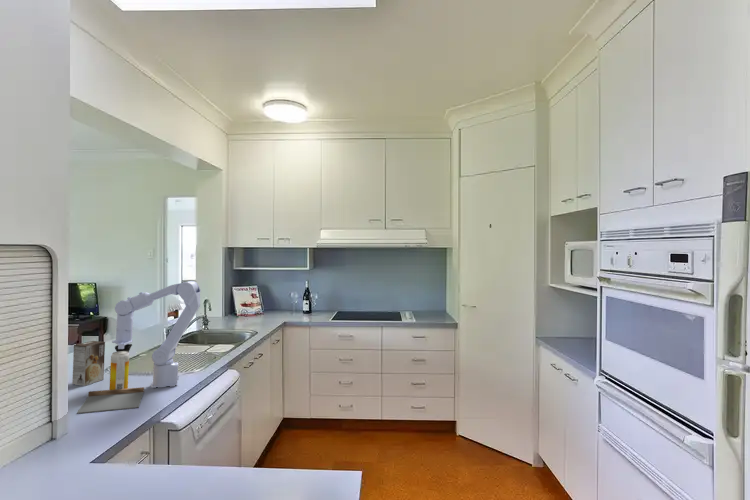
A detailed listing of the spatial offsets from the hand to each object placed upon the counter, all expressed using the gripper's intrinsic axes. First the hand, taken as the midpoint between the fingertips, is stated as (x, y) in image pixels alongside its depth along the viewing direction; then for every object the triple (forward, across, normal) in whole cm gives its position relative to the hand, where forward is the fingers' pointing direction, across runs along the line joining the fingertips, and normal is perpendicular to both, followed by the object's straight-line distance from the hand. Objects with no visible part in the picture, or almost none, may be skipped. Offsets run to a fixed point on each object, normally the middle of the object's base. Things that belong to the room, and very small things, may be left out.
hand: (122, 363), depth 168 cm
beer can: (+9, +8, 0) cm, 12 cm away
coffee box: (+9, -8, -13) cm, 18 cm away
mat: (+9, +21, 0) cm, 23 cm away
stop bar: (+9, +12, 0) cm, 15 cm away
